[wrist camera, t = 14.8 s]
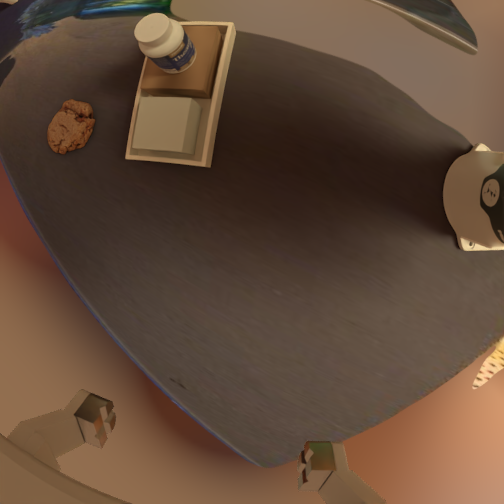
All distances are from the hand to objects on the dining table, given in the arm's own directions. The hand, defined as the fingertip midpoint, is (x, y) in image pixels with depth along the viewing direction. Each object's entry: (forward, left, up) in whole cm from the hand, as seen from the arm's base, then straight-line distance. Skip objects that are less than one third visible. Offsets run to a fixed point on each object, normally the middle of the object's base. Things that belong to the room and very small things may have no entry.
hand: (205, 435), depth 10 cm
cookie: (+34, -15, -35) cm, 51 cm away
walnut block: (+14, -25, -34) cm, 44 cm away
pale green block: (+14, -15, -34) cm, 39 cm away
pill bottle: (+14, -25, -29) cm, 40 cm away
